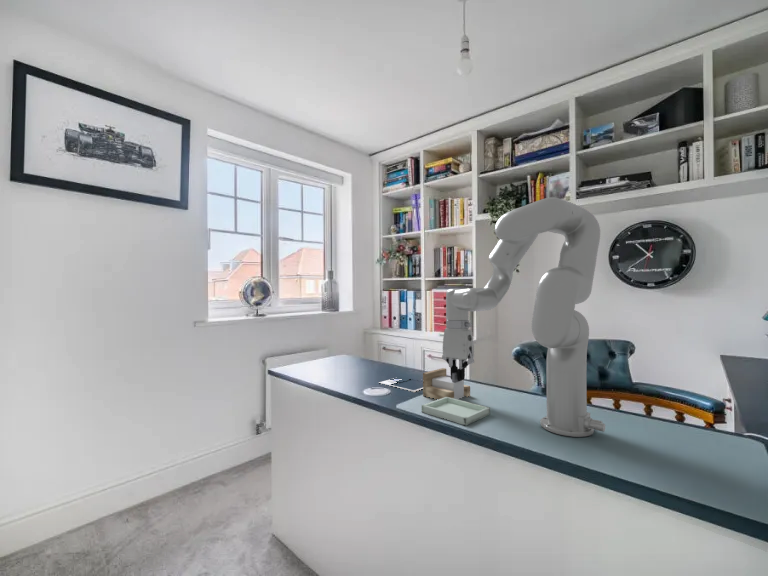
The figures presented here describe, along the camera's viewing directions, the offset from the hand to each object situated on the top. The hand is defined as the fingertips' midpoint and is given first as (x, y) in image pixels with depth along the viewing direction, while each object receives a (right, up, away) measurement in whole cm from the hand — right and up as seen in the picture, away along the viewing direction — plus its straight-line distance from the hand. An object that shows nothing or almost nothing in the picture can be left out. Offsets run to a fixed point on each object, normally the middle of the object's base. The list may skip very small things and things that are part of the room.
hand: (457, 379), depth 123 cm
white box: (-3, -7, +3) cm, 8 cm away
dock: (-3, -7, +3) cm, 8 cm away
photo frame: (-16, -7, +19) cm, 26 cm away
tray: (-4, -7, -14) cm, 16 cm away
